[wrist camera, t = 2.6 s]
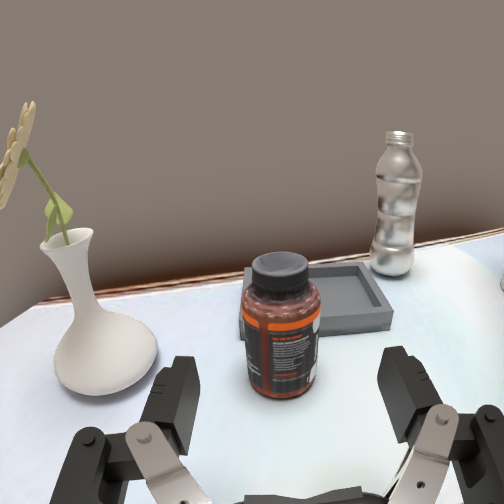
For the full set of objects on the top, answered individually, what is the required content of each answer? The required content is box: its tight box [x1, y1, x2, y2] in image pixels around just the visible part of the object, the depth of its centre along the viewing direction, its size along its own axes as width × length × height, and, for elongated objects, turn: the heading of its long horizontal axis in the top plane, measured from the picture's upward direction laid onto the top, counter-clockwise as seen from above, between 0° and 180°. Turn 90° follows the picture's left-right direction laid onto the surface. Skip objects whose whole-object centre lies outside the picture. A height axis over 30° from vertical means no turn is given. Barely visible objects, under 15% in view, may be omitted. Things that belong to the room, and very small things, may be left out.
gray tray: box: [239, 262, 394, 340], centre depth 36 cm, size 16×12×2 cm
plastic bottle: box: [370, 131, 423, 276], centre depth 39 cm, size 6×7×20 cm
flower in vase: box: [0, 101, 158, 396], centre depth 22 cm, size 13×11×25 cm
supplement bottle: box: [241, 252, 321, 398], centre depth 24 cm, size 6×6×11 cm
